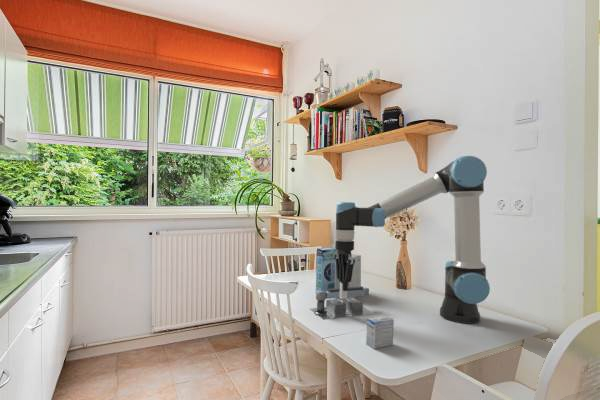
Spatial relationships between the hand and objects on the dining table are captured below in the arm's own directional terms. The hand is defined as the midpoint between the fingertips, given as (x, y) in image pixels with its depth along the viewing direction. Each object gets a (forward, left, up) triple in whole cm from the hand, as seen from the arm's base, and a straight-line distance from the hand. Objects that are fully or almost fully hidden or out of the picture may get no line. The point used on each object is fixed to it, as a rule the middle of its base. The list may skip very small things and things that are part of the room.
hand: (343, 298), depth 143 cm
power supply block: (+4, +1, -7) cm, 8 cm away
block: (+4, -7, -7) cm, 11 cm away
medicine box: (-29, +2, -8) cm, 30 cm away
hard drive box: (+24, -16, -8) cm, 30 cm away
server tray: (+4, -2, -8) cm, 9 cm away
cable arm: (+4, -2, -1) cm, 5 cm away
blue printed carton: (+34, -13, -8) cm, 38 cm away
